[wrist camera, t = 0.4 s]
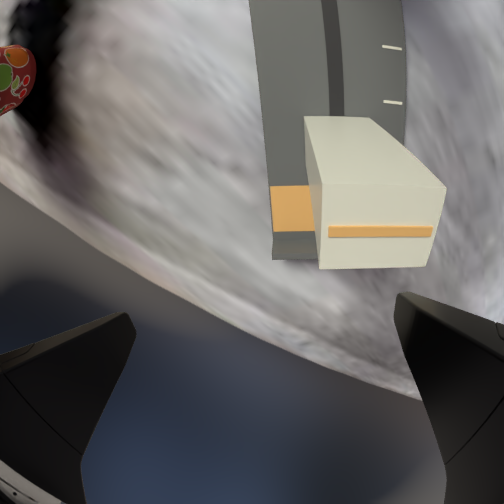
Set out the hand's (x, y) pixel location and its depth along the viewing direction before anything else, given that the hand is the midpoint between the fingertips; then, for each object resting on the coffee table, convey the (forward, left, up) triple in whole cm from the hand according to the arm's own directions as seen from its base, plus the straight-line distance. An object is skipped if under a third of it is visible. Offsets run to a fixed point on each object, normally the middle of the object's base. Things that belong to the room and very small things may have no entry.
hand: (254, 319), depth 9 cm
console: (-6, 0, -15) cm, 16 cm away
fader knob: (-4, +2, -14) cm, 14 cm away
